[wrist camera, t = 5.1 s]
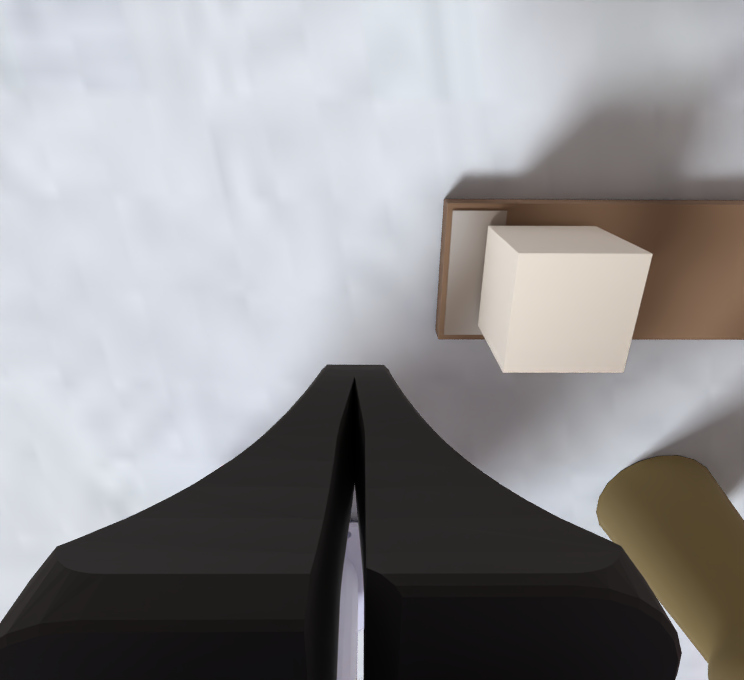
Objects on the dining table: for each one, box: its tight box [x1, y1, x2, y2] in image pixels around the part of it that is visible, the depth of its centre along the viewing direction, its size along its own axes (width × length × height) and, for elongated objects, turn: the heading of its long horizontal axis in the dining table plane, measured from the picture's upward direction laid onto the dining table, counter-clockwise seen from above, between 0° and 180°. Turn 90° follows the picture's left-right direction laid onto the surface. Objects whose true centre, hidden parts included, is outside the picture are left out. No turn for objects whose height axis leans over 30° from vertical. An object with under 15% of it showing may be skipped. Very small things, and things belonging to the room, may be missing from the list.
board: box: [435, 199, 744, 340], centre depth 20 cm, size 15×6×1 cm, turn 90°
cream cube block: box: [478, 226, 653, 373], centre depth 17 cm, size 4×4×4 cm
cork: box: [596, 455, 744, 680], centre depth 21 cm, size 6×6×11 cm
